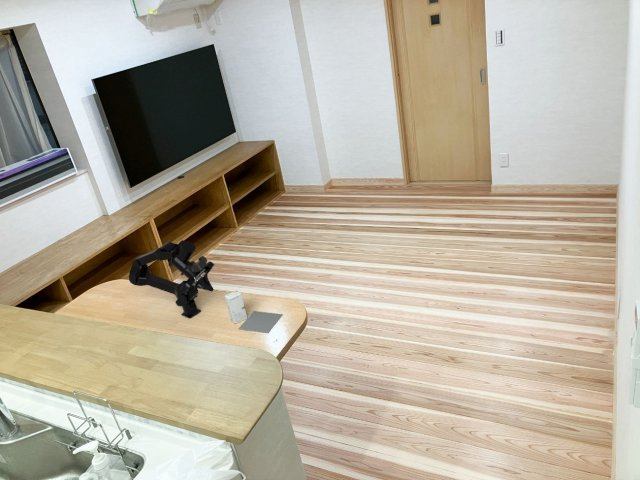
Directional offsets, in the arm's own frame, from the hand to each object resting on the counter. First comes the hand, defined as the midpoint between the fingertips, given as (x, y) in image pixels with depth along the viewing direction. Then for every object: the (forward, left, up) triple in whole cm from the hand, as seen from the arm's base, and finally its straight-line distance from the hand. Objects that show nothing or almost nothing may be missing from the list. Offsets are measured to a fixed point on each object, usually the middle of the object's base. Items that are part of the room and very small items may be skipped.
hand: (213, 290), depth 216 cm
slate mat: (+19, +6, -13) cm, 24 cm away
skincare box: (+9, +3, -13) cm, 16 cm away
